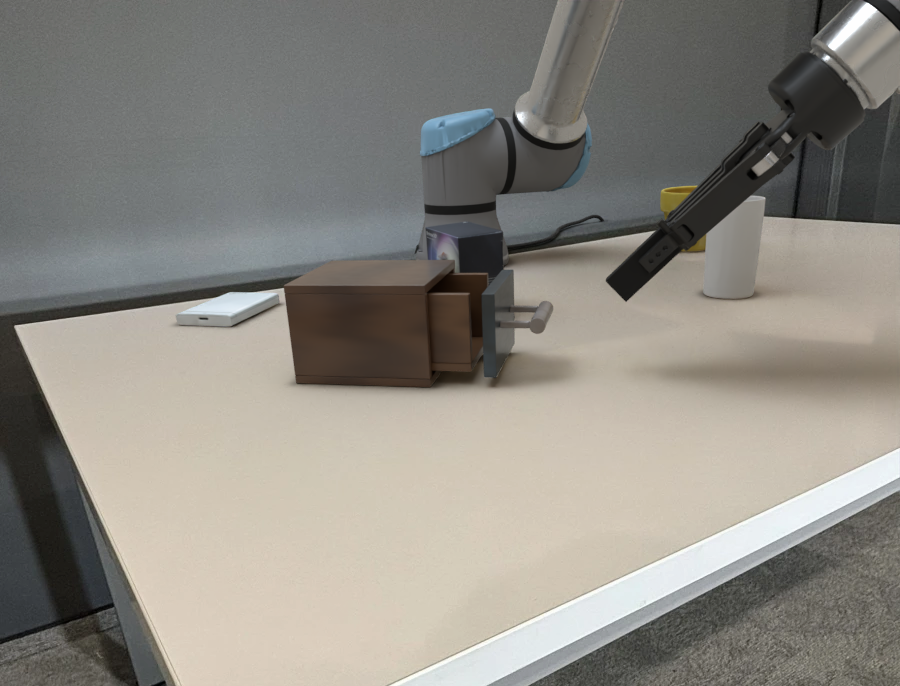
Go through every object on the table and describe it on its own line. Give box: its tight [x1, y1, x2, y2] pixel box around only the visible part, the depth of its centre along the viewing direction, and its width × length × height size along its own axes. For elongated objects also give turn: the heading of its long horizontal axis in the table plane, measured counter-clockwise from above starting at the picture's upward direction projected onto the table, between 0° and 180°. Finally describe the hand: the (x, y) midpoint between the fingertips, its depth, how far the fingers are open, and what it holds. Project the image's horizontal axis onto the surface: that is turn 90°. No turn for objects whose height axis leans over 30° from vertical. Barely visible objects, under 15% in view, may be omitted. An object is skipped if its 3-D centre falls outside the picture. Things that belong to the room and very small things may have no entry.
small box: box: [425, 221, 505, 285], centre depth 99 cm, size 11×6×10 cm, turn 23°
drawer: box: [427, 268, 554, 379], centre depth 78 cm, size 17×11×8 cm
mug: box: [702, 195, 767, 300], centre depth 103 cm, size 10×7×12 cm, turn 149°
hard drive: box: [175, 291, 281, 328], centre depth 106 cm, size 2×8×12 cm
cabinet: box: [283, 259, 455, 388], centre depth 80 cm, size 14×13×10 cm
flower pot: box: [659, 185, 706, 253], centre depth 134 cm, size 10×10×10 cm
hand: (616, 289), depth 73 cm, fingers closed
